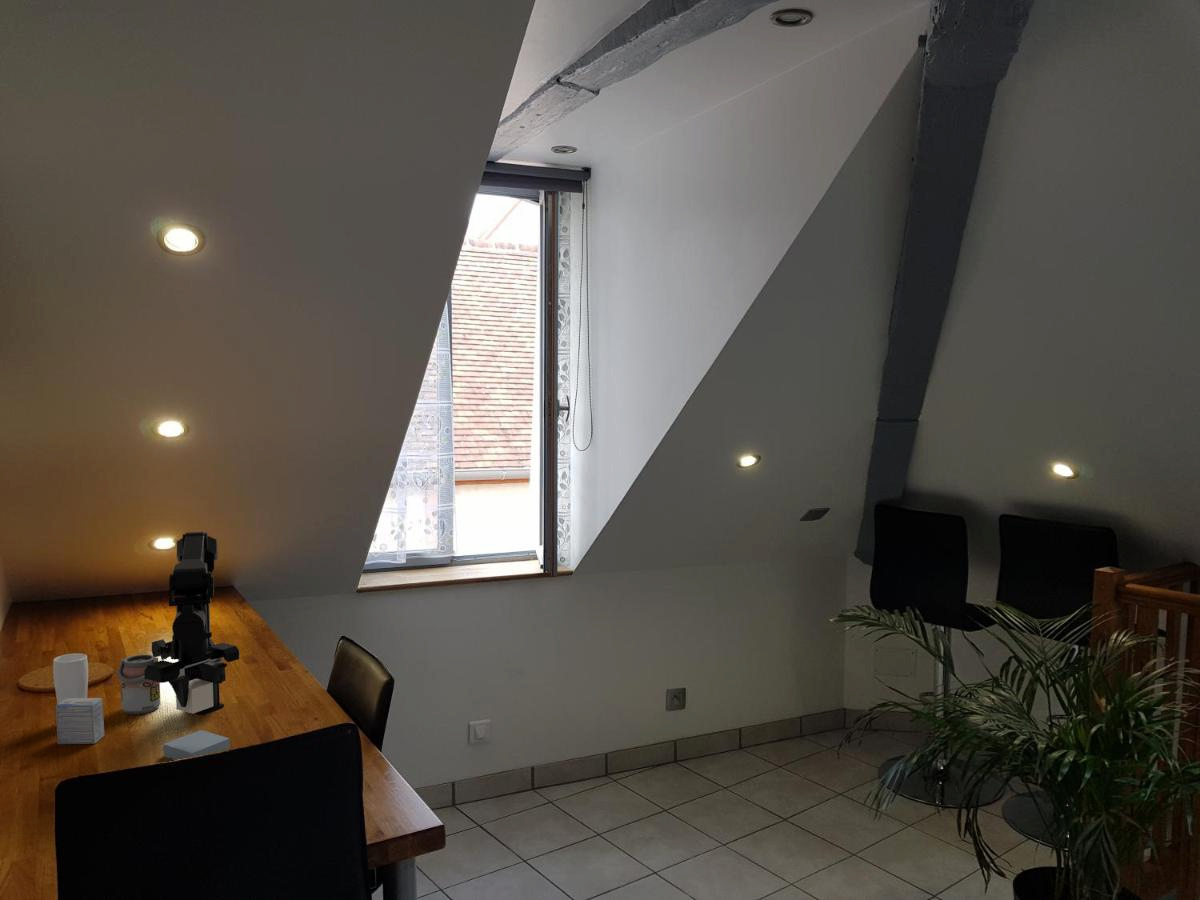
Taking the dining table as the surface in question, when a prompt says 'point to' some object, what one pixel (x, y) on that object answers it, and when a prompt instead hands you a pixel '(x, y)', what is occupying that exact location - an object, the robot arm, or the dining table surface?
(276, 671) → the dining table surface
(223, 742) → the slate block
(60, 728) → the medicine box
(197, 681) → the cream cube
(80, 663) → the drinking glass
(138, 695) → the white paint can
